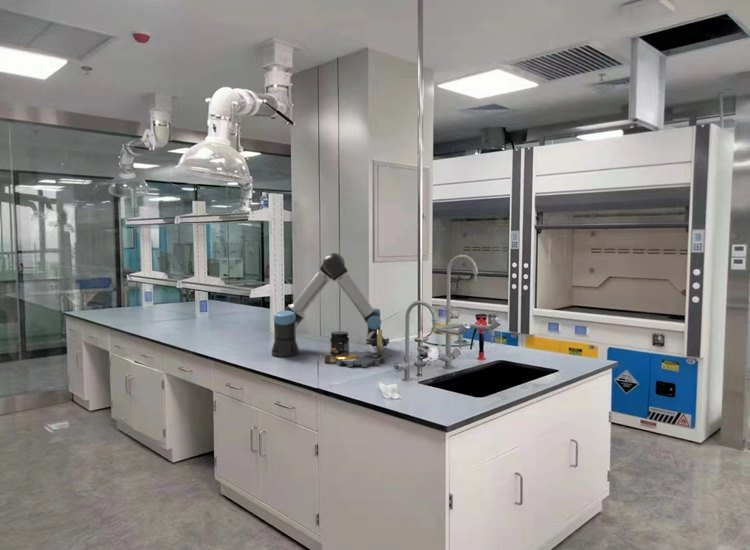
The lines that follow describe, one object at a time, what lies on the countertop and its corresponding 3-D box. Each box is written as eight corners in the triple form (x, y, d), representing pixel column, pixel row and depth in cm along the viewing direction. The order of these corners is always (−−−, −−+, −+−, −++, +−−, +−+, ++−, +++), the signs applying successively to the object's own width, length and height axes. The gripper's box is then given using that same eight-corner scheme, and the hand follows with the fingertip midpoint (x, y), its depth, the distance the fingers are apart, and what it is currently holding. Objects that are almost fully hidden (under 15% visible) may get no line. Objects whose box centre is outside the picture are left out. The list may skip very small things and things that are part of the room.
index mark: (324, 363, 265) (324, 355, 265) (324, 361, 269) (324, 353, 269) (330, 363, 266) (330, 355, 265) (330, 361, 270) (330, 353, 269)
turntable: (322, 363, 263) (321, 331, 262) (350, 352, 287) (350, 324, 286) (369, 369, 250) (369, 336, 249) (395, 357, 274) (395, 327, 273)
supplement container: (326, 354, 287) (326, 332, 287) (341, 351, 294) (341, 330, 294) (337, 357, 279) (337, 335, 279) (353, 354, 286) (353, 332, 286)
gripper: (387, 344, 293) (393, 353, 269) (364, 345, 291) (369, 354, 268) (387, 331, 292) (393, 339, 269) (364, 332, 291) (369, 340, 267)
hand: (381, 346), depth 268 cm, fingers closed
